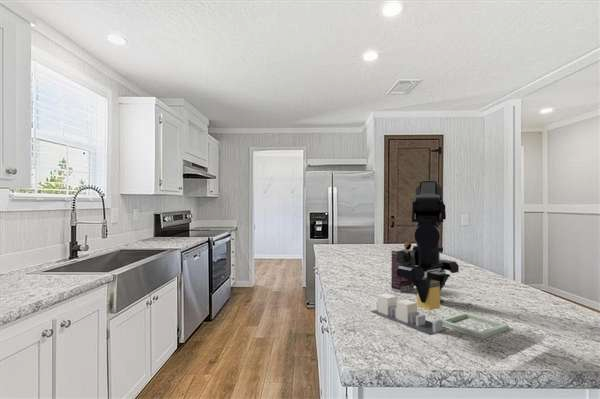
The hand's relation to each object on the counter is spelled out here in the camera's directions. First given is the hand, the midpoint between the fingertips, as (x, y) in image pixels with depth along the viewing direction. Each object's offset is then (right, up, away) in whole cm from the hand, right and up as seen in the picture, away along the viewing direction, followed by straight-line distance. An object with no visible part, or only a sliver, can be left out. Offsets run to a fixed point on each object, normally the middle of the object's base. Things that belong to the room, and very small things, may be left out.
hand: (428, 301), depth 89 cm
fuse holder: (-4, -9, +6) cm, 11 cm away
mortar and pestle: (+12, -9, +55) cm, 57 cm away
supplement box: (+7, -9, +45) cm, 46 cm away
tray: (+12, -9, +1) cm, 15 cm away
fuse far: (-8, -7, +13) cm, 17 cm away
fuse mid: (-4, -7, +6) cm, 10 cm away
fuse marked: (0, -2, 0) cm, 2 cm away
